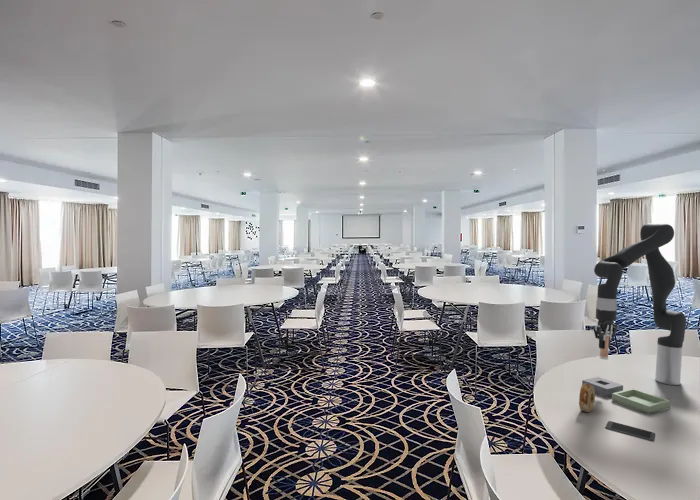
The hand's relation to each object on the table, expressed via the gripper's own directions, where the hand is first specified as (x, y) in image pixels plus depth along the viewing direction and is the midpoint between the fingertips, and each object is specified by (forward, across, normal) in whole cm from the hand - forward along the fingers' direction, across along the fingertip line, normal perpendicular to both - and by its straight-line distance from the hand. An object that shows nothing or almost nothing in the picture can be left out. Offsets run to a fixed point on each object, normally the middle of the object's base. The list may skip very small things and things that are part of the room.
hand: (604, 347), depth 180 cm
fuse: (+5, 0, 0) cm, 5 cm away
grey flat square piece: (+19, 0, 0) cm, 19 cm away
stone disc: (+19, +26, +10) cm, 34 cm away
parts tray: (+19, 0, +16) cm, 24 cm away
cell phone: (+19, +28, +28) cm, 44 cm away
